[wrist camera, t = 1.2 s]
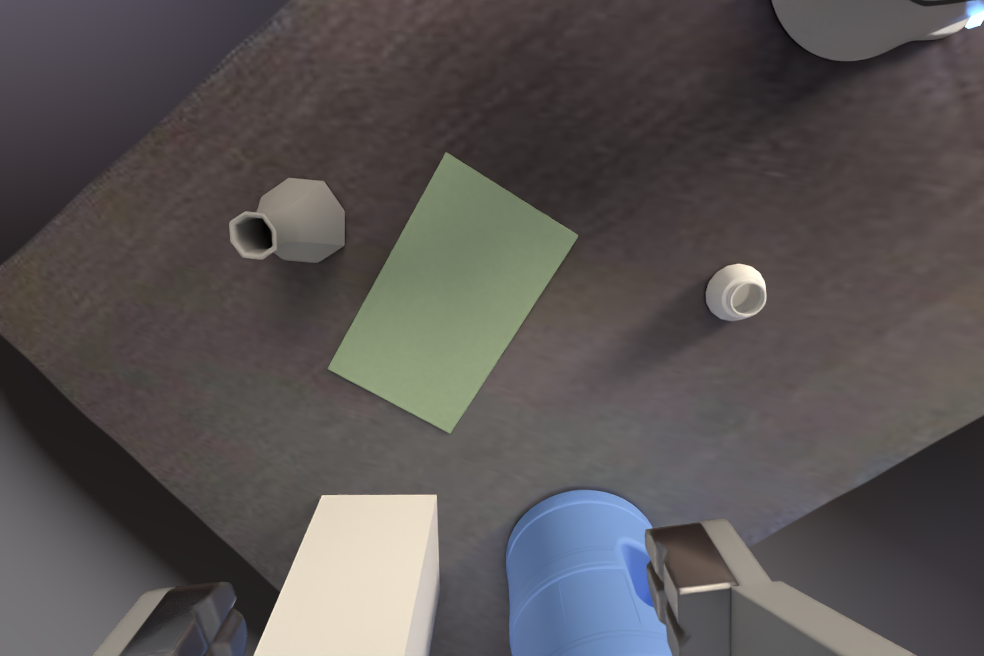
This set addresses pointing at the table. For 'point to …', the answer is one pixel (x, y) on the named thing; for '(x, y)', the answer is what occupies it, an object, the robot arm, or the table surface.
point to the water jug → (582, 580)
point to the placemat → (451, 295)
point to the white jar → (736, 292)
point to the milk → (360, 581)
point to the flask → (292, 223)
